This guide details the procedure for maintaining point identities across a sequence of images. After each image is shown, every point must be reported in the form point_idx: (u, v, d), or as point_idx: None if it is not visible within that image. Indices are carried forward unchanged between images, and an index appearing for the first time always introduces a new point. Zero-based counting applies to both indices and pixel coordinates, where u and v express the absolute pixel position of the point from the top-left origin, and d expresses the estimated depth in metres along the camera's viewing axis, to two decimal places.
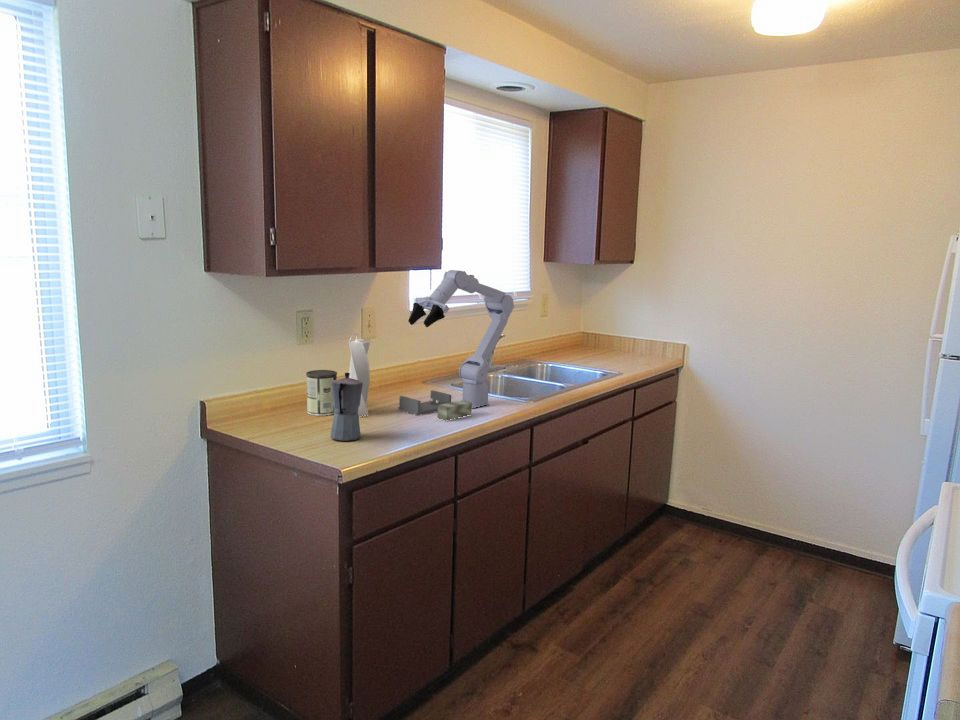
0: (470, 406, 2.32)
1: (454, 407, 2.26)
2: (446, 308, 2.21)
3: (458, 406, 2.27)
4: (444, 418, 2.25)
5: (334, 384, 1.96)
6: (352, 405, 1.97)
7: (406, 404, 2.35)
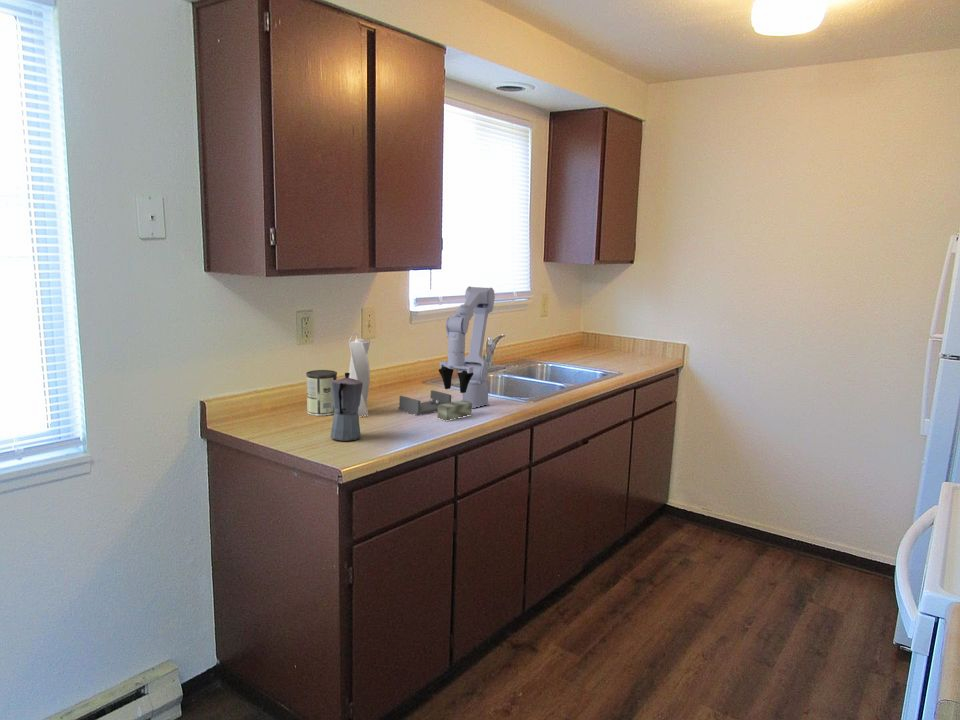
0: (470, 406, 2.32)
1: (454, 407, 2.26)
2: (470, 370, 2.22)
3: (458, 406, 2.27)
4: (444, 418, 2.25)
5: (334, 384, 1.96)
6: (352, 405, 1.97)
7: (406, 404, 2.35)
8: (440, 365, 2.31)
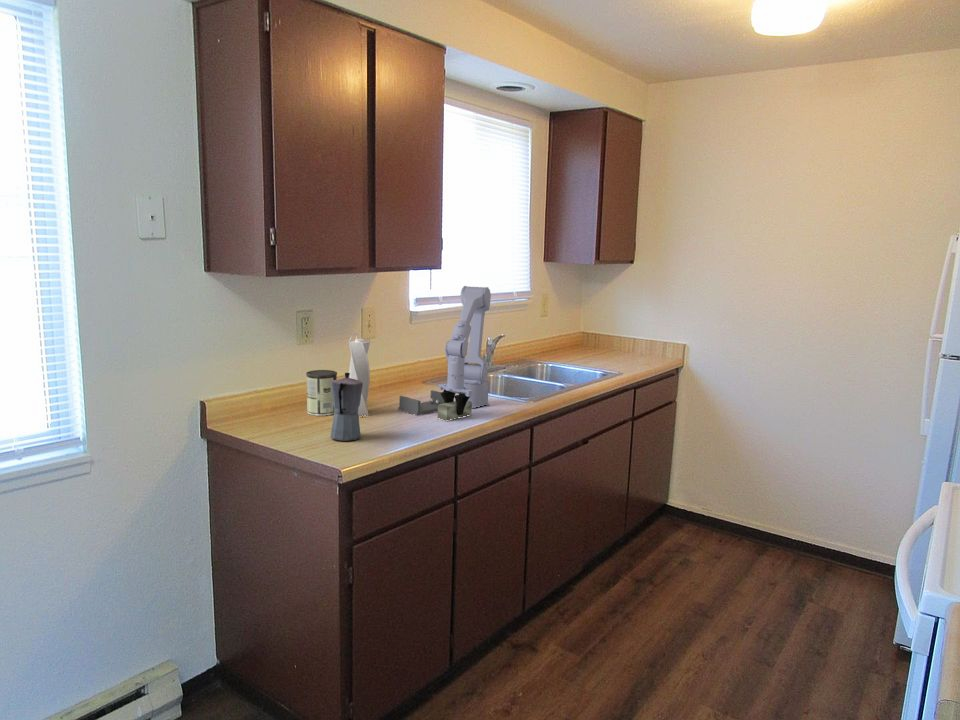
0: (470, 405, 2.32)
1: (454, 407, 2.26)
2: (470, 393, 2.23)
3: None
4: (444, 417, 2.25)
5: (334, 384, 1.96)
6: (352, 405, 1.97)
7: (406, 404, 2.35)
8: (439, 388, 2.32)
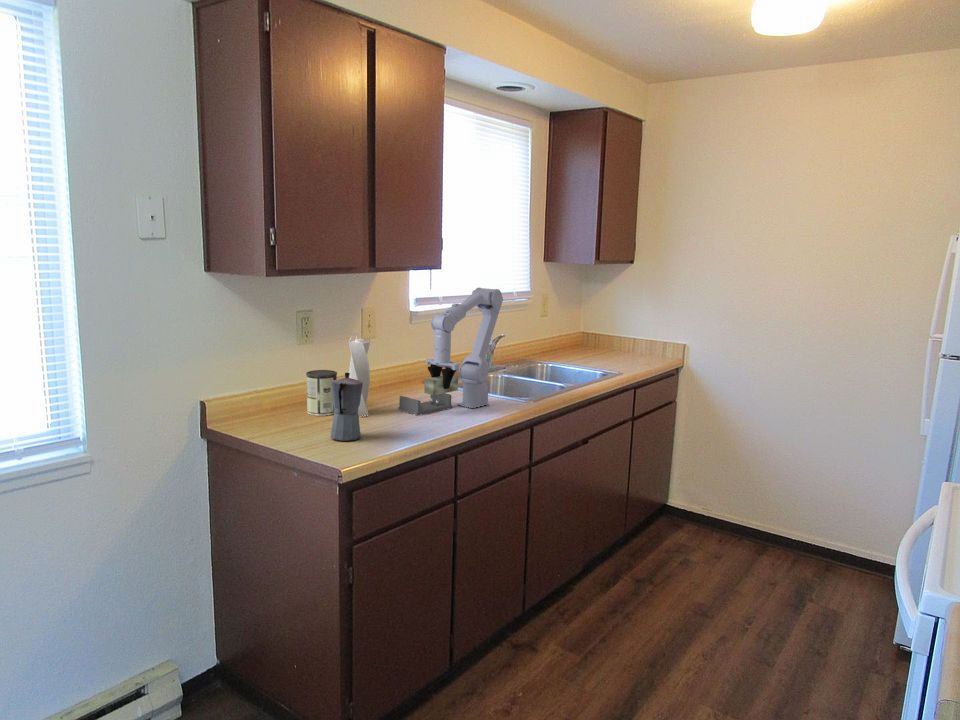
0: (456, 380, 2.35)
1: (440, 381, 2.29)
2: (456, 367, 2.27)
3: None
4: (431, 391, 2.28)
5: (334, 384, 1.96)
6: (352, 405, 1.97)
7: (406, 404, 2.35)
8: (426, 362, 2.35)
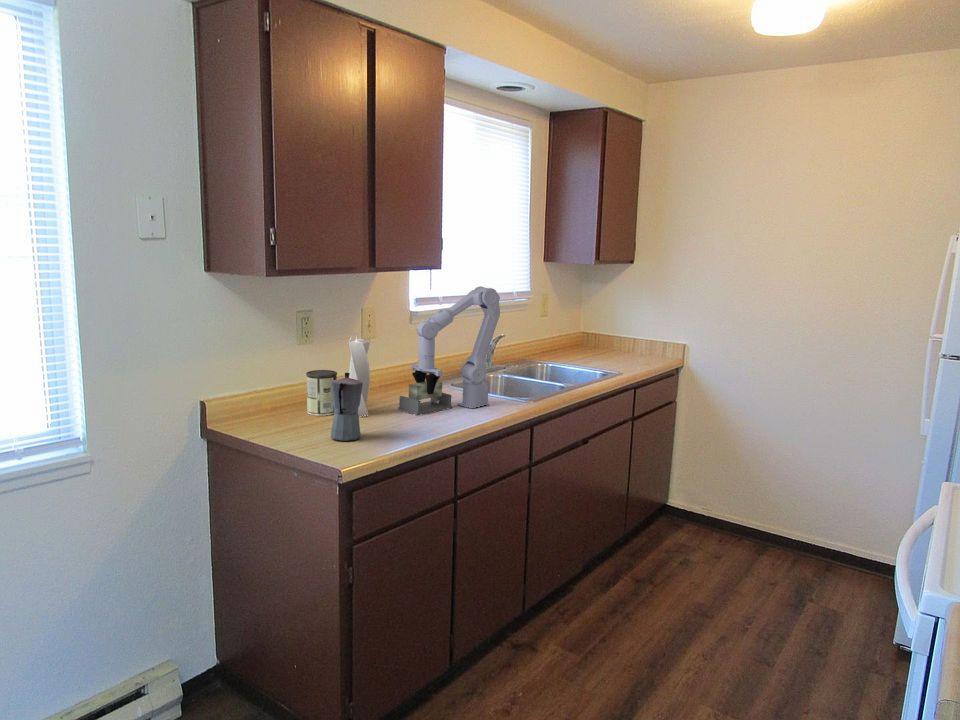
0: (440, 385, 2.41)
1: (424, 386, 2.35)
2: (439, 373, 2.33)
3: None
4: (415, 396, 2.34)
5: (334, 384, 1.96)
6: (352, 405, 1.97)
7: (406, 404, 2.35)
8: (411, 368, 2.42)
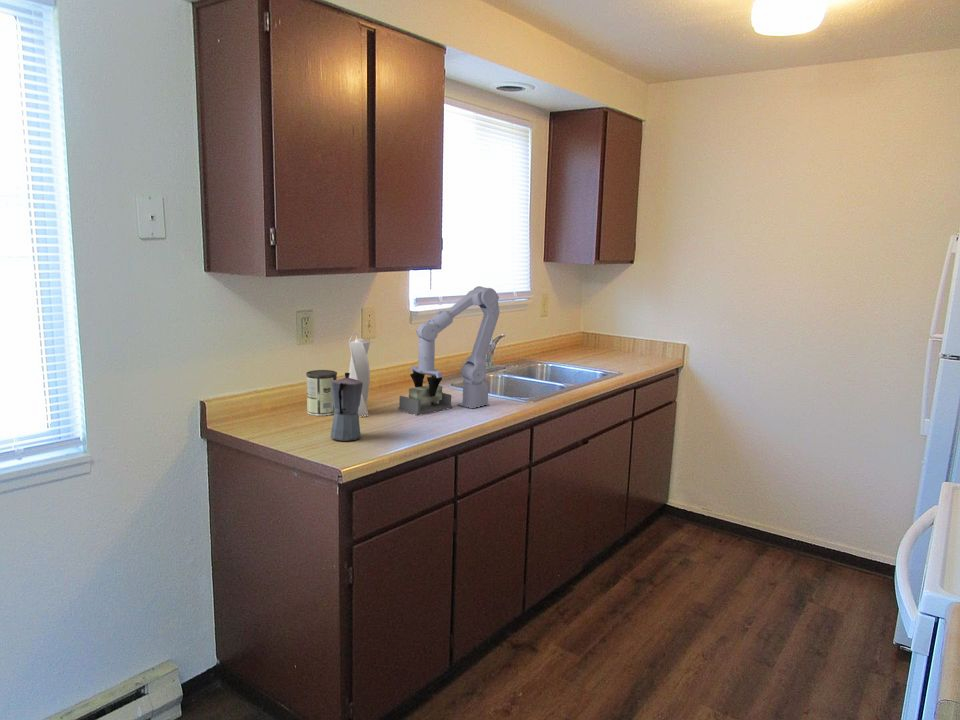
0: (440, 390, 2.41)
1: (424, 390, 2.35)
2: (439, 374, 2.33)
3: (428, 389, 2.37)
4: None
5: (334, 384, 1.96)
6: (352, 405, 1.97)
7: (406, 404, 2.35)
8: (411, 370, 2.42)
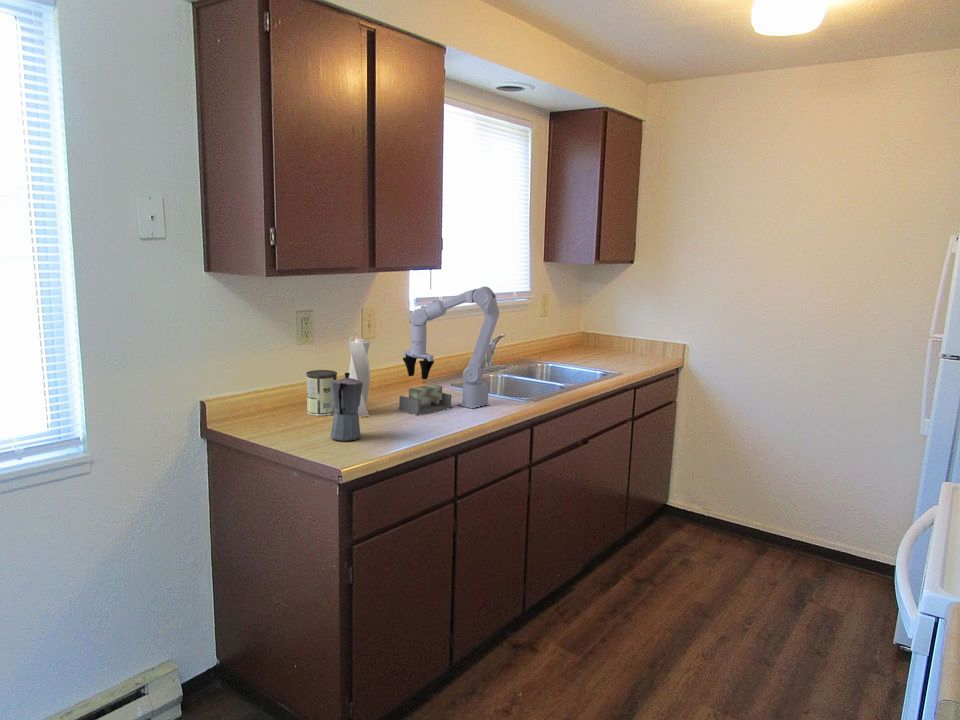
0: (440, 390, 2.41)
1: (424, 390, 2.35)
2: (431, 358, 2.42)
3: (428, 389, 2.37)
4: None
5: (334, 384, 1.96)
6: (352, 405, 1.97)
7: (406, 404, 2.35)
8: (404, 354, 2.51)
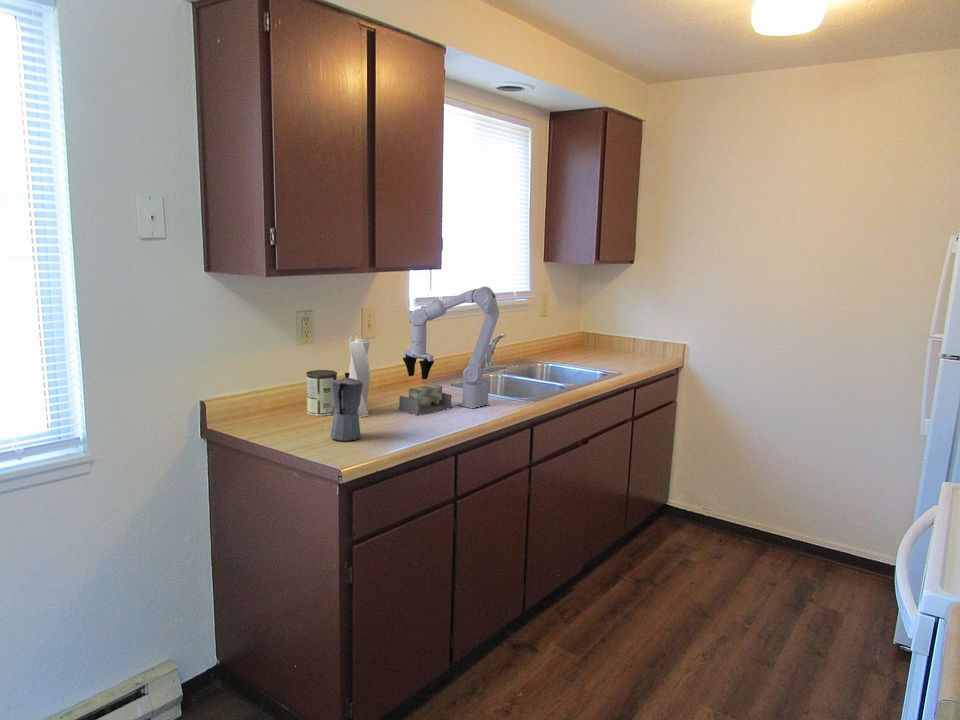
0: (440, 390, 2.41)
1: (424, 390, 2.35)
2: (431, 358, 2.42)
3: (428, 389, 2.37)
4: None
5: (334, 384, 1.96)
6: (352, 405, 1.97)
7: (406, 404, 2.35)
8: (404, 354, 2.51)
